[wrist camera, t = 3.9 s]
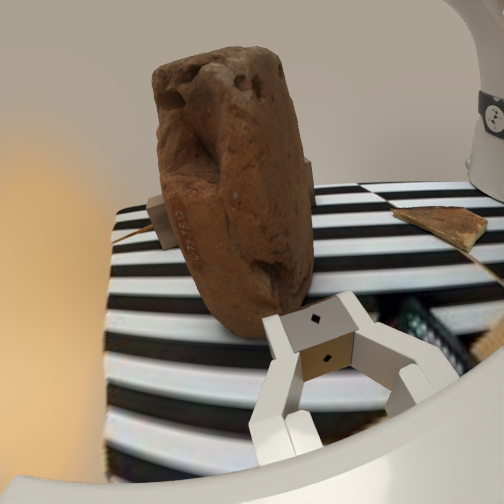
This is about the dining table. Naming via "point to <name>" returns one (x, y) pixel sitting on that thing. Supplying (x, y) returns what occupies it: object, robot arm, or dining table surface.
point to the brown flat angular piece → (446, 223)
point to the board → (162, 221)
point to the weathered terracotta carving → (235, 183)
